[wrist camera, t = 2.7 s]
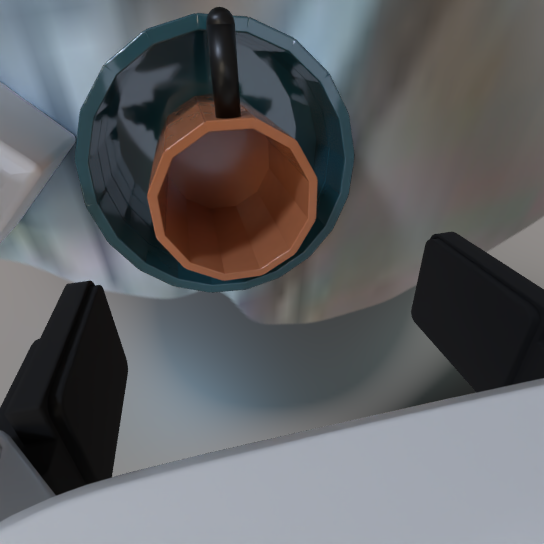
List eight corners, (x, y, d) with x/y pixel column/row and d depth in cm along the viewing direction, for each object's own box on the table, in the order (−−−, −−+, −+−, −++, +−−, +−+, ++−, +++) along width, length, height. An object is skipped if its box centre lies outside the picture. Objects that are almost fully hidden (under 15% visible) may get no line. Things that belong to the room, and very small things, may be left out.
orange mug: (273, 203, 26) (314, 268, 18) (169, 215, 24) (167, 289, 17) (269, 19, 20) (325, 4, 13) (133, 22, 19) (105, 6, 11)
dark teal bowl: (55, 182, 22) (24, 216, 18) (177, -49, 18) (178, -80, 14) (240, 280, 29) (253, 323, 25) (361, 129, 25) (403, 147, 20)
